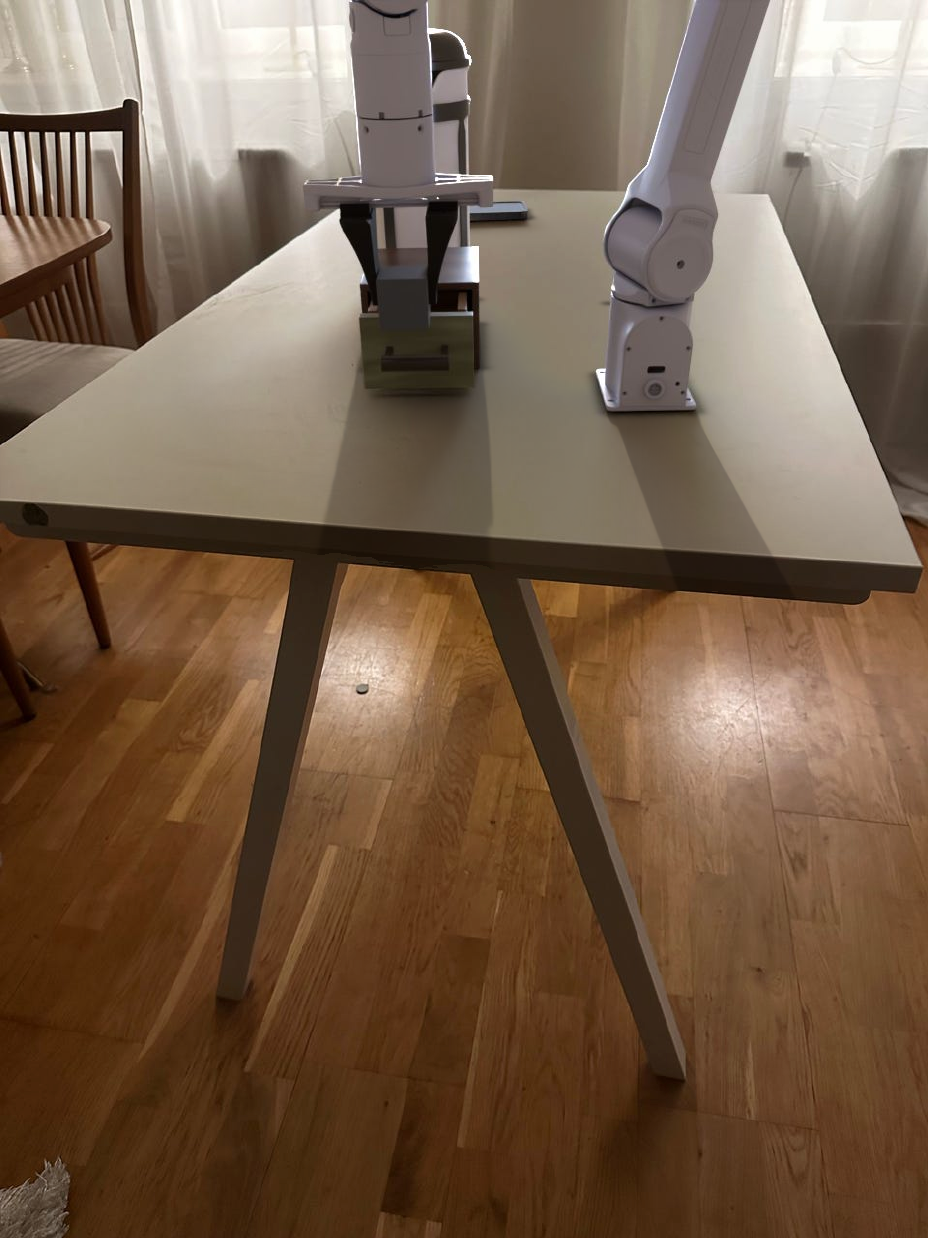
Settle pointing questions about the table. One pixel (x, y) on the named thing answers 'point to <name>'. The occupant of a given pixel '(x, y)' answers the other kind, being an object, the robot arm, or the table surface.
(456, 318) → the drawer
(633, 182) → the robot arm
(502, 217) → the phone
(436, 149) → the coffee press
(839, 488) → the table surface
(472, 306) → the cabinet
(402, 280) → the block
